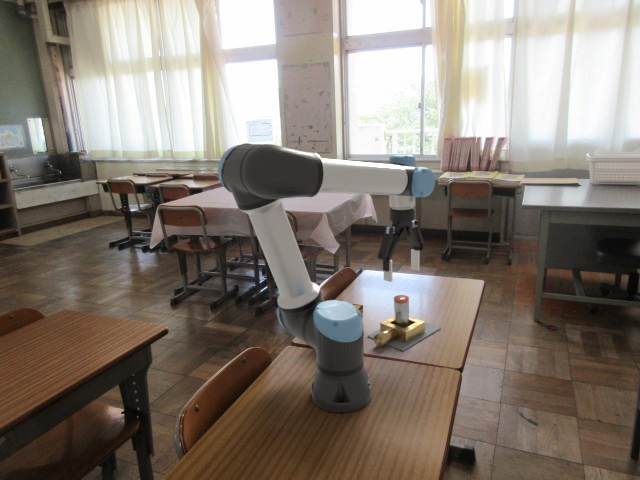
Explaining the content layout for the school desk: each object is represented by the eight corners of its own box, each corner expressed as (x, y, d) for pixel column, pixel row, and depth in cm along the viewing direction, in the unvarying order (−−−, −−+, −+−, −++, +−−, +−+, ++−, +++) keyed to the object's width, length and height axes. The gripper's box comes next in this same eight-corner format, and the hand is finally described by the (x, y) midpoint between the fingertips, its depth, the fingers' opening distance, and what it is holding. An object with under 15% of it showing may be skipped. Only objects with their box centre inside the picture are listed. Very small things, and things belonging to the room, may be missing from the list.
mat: (403, 351, 131) (403, 350, 131) (367, 336, 141) (367, 335, 141) (440, 328, 144) (440, 327, 144) (405, 316, 154) (405, 315, 154)
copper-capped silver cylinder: (404, 337, 139) (402, 302, 135) (392, 333, 142) (390, 298, 139) (412, 331, 142) (411, 297, 138) (401, 327, 145) (399, 293, 142)
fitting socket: (391, 351, 131) (391, 340, 130) (365, 340, 138) (365, 330, 137) (424, 332, 142) (425, 321, 141) (399, 323, 149) (399, 313, 148)
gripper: (385, 215, 121) (385, 288, 126) (436, 202, 137) (435, 267, 142) (364, 212, 126) (366, 282, 132) (416, 200, 143) (415, 263, 148)
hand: (402, 275), depth 137 cm, fingers open, 13 cm apart
